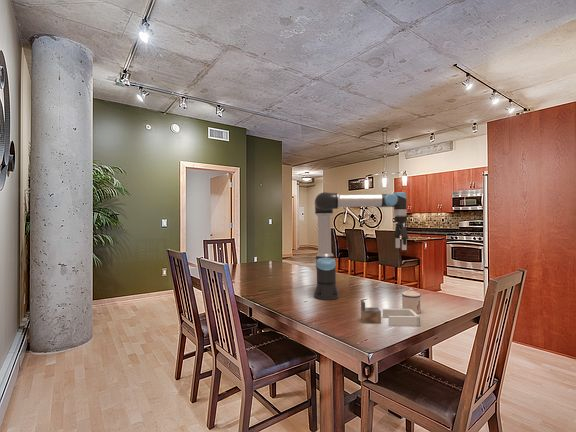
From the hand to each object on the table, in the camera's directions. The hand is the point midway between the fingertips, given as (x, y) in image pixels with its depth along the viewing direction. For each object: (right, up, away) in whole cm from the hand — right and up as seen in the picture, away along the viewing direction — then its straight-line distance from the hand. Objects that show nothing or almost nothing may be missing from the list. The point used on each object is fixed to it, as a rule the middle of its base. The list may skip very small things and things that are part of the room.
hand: (400, 249), depth 201 cm
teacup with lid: (-9, -28, -40) cm, 49 cm away
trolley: (-34, -28, -55) cm, 71 cm away
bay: (-21, -28, -56) cm, 66 cm away
